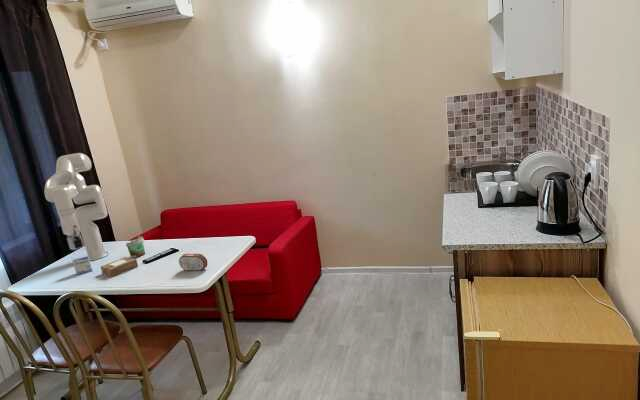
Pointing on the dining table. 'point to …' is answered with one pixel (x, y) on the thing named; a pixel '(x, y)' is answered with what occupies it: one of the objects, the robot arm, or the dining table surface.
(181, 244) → the dining table surface
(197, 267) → the tin
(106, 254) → the robot arm
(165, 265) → the dining table surface
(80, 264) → the medicine box
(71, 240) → the slate block
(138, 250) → the food container
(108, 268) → the plinth
